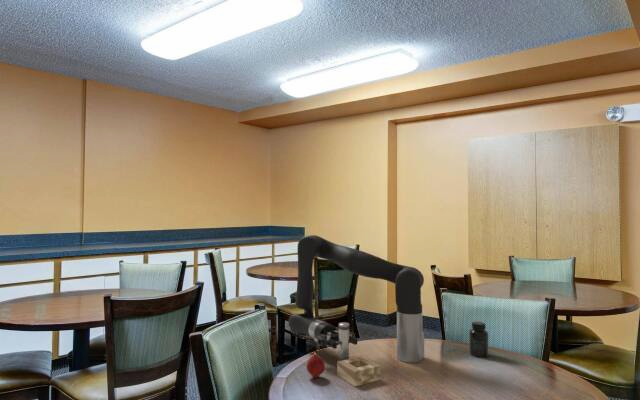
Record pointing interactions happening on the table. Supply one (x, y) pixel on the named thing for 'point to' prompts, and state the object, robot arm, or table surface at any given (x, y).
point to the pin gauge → (343, 341)
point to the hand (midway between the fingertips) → (346, 343)
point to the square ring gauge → (358, 371)
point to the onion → (315, 365)
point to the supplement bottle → (478, 340)
